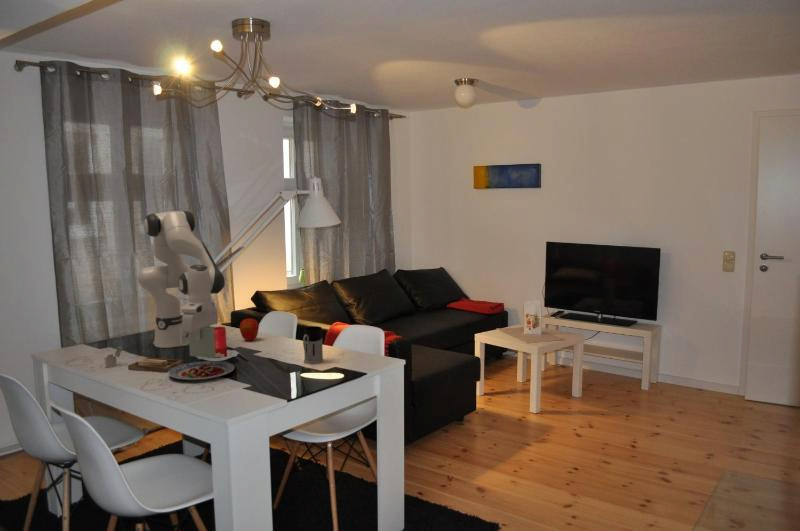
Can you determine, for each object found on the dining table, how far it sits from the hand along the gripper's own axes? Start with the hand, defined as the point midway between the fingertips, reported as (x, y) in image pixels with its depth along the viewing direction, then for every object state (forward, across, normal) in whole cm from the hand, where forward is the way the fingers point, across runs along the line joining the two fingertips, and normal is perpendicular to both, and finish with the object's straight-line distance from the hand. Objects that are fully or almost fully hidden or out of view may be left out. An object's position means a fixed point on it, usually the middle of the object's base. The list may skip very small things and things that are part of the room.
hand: (201, 338), depth 255 cm
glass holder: (+15, -25, +37) cm, 47 cm away
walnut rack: (+14, -4, -25) cm, 29 cm away
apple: (+15, -57, -10) cm, 60 cm away
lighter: (+15, -1, -44) cm, 46 cm away
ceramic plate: (+15, +1, 0) cm, 15 cm away
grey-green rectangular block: (+7, 0, 0) cm, 7 cm away
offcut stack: (+15, -2, -25) cm, 29 cm away
